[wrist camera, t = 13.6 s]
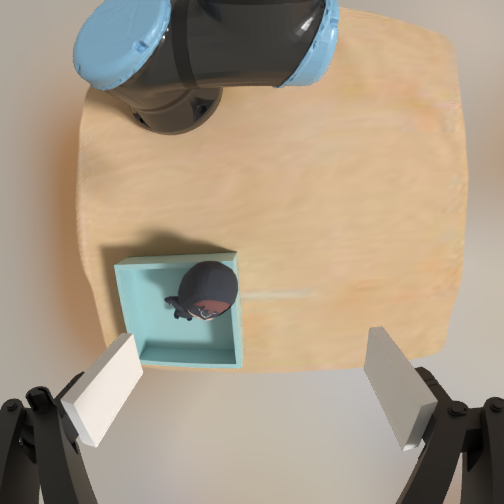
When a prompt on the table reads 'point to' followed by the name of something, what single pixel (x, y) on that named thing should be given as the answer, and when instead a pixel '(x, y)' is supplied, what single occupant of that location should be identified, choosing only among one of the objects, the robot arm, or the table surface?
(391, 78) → the table surface
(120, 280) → the bin
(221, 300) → the toy
